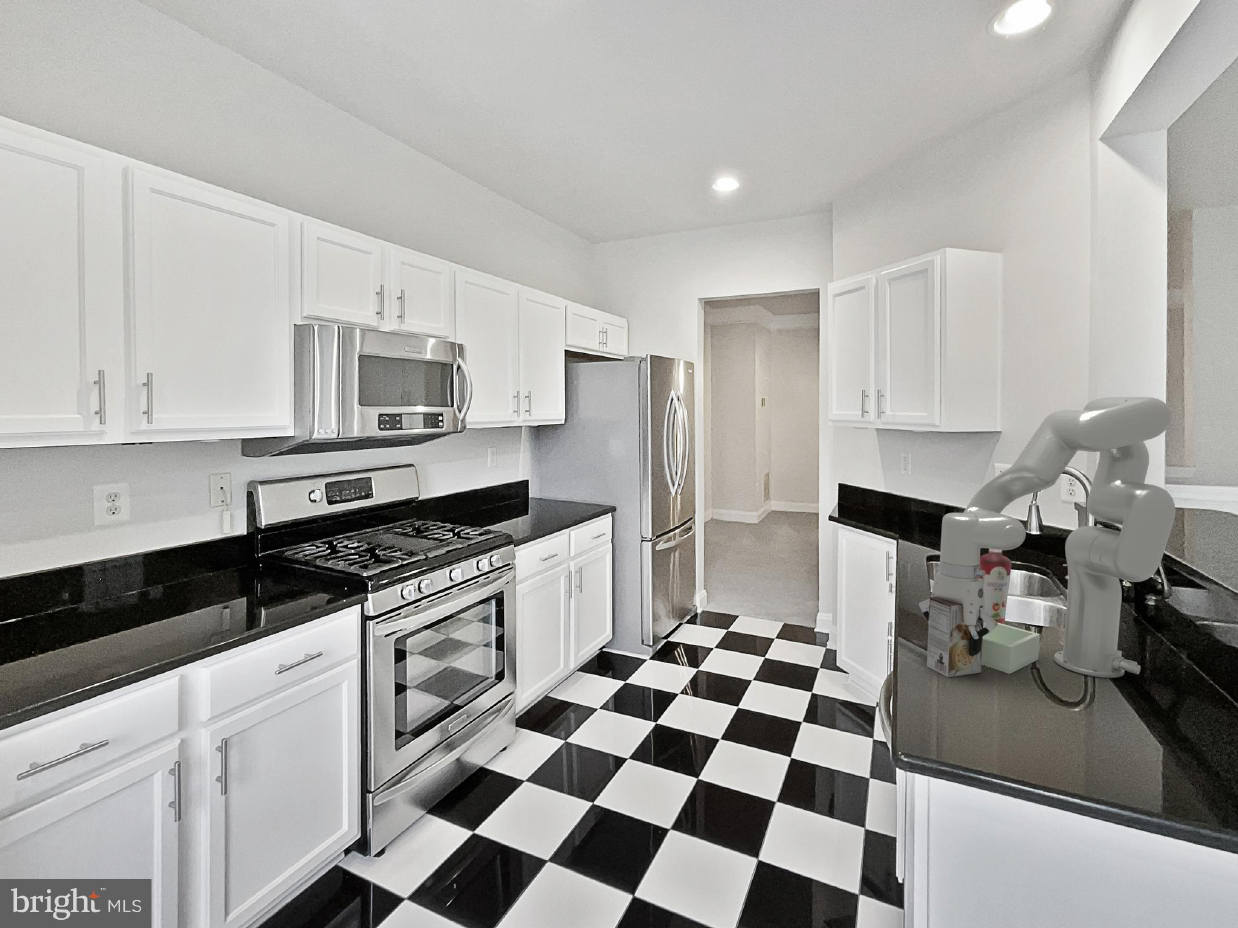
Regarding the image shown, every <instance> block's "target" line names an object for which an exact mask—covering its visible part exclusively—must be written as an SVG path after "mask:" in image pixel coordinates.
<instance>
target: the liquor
mask: <svg viewBox="0 0 1238 928" xmlns="http://www.w3.org/2000/svg"><path fill="white" fill-rule="evenodd" d="M1012 563H1013V561H1012V560H1010V558H1008V557H1007V556H1005V555H1003V550H996V549H989V548H988V553H985V554H983V555H980V561H979V565H980V569H982V570H985V576H979V577H978V578H980V579H982V580H983V584H984V590H985V603H986V612H987V613H988V614H989V615H990V616H991V617H992V618H993V619H994V620H995V621H996V622H997V623H1001V624H1005V623H1006V613H1007V612H1006V611H1007V604H1008V596H1009V595H1008V594H1009V590H1010V589H1009V587H1010V580H1011V571H1012ZM1005 625H1006V624H1005Z"/></svg>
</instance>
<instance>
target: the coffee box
mask: <svg viewBox="0 0 1238 928" xmlns="http://www.w3.org/2000/svg"><path fill="white" fill-rule="evenodd" d="M929 598H930V605H929V624H928V630H927V631H928V632H927V634H928V635H927V653H926V654H927V657H926V667H927V668H929V669H931V670H933V671H935V672H937V673H939V674H941V675H943V676H944V677H947V678H954V677H959V676H967V675H972V674H978V673H979V674H980V673H982V665H981V662H982V642H983V637H982V641H981V651H980V652H979V654H977V655H975V656H970V655H969V639H970V638H971V637H972V634H971V632H970V630H969V628H968V626H966V625H965V624H964V614H963V604H960V603H956V602H952V601H949V600H945V599H941V598H937V597H931V596H930V597H929ZM978 620H982V618H981V617H980V616H979V617H978ZM980 622H981V621H979V623H980ZM980 625H981V627H982V628H983V623H980Z"/></svg>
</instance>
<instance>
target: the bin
mask: <svg viewBox="0 0 1238 928" xmlns="http://www.w3.org/2000/svg"><path fill="white" fill-rule="evenodd" d="M985 626H986V622H985V621H984V622H983V628H984V627H985ZM1040 640H1041V634H1040V633H1037V632H1033V631H1029V630H1027V629H1022V628H1020V627H1019V628H1018V627H1016V626H1012V625H1008V624H1001V623H998V625H997V626H996V627H995V628H994V629H993V630H992V631H991V632H989V633H988V634H986V635H984V636H983V642H982V662H981V666H984V665H985V666H984V667H986V668H990V667H991V668H990V669H993V668H994V670H996V671H999V672H1002V671H1003V673H1006V674H1008V675H1010V673H1011V674H1012V673H1015V672H1016V671H1018V670H1020V669H1022V668H1024V667H1027V666H1028V665H1030V664H1032V663H1034V662H1036V661H1038V660H1039V656H1040V643H1041V642H1040Z"/></svg>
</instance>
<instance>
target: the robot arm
mask: <svg viewBox="0 0 1238 928" xmlns="http://www.w3.org/2000/svg"><path fill="white" fill-rule="evenodd" d="M1172 415H1173V414H1172V411H1171V408H1170V407H1169V405H1168V404H1166V402H1164V401H1163V400H1161V399H1159V398H1156V397H1150V396H1136V397H1135V396H1133V397H1132V396H1129V397H1128V396H1125V397H1124V396H1109V397H1102V398H1101V397H1100V398H1095V399H1094V400H1093V399H1092V400H1090V401H1088V403H1086V405H1085V406H1084V407H1083V410H1081V409H1077V410H1076V409H1068V410H1067V409H1065V410H1057V411H1054V412H1052V413H1050V414H1049V415H1047V416H1046V417H1045V419H1043V420H1042V423H1041V424H1040V425H1039V427H1038V428H1037V429H1036V431H1035V432H1034V434H1033V435H1032V436H1031V438H1030V440H1029V441H1028V443H1027V444H1026V445H1025V447H1024V448H1023V450H1022V451H1021V452H1020V454H1019V456H1018V457H1017V459H1016V460H1015V461H1014V463H1013V464H1012V465H1011V466H1010V467H1008V468H1007V469H1004V470H1003V471H1002V472H1001V473H999V474H998V475H997V476H995V477H994V478H992V479H991V480H989V481H988V482H987V483H986V484H985V485H983V486H982V487H981V488H980V489H979V490H977V491H976V493H975V494H974V496H973V498H971V500H970V501H969V503H968V505H967V506H966V507H965V509H964V511H963V512H949V513H947V514H944V515H943V517H942V521H941V522H942V523H941V536H940V553H939V555H940V556H939V557H940V558H939V571H938V572H936V573H935V577H934V580H933V585H932V589H931V595H930V597H937V598H941V599H945V600H949V601H952V602H956V603H960V604H963V614H964V624H965V625H966V626H968V628H969V630H970V632H971V634H972V637H971V638H970V639H969V655H970V656H975V655H977V654H979V652H980V651H981V641H982V637H983V636H984V635H986V634H988V633H989V632H991V631H992V630H993V629H994V628H995V627H996V626H997V625H998V623H997V622H996V621H995V620H994V619H993V618H992V617H991V616H990V615H989V614H988V613H987V612H986V603H985V590H984V584H983V580H982V579H980V578H978V577H979V576H985V570H982V569H980V565H979V561H980V557H981V549H988V550H989V549H996V550H1002V551H1009V550H1013V549H1016V548H1018V547H1020V546H1021V545H1022V544H1023V542H1025V539H1026V536H1027V535H1026V534H1027V533H1026V528H1025V526H1024V524H1023V523H1022V522H1021V521H1020V520H1019V519H1017V518H1015V517H1013V516H1010V515H1007V514H1004V513H1002V512H1003V511H1004V510H1005V509H1006V508H1007V506H1009V505H1010V504H1011V503H1013V502H1015V501H1016V500H1017V499H1019V498H1022V497H1024V496H1025V497H1026V495H1030V494H1034V493H1037V492H1041V491H1044V490H1048V489H1049V488H1051V487H1053V486H1054V485H1055V484H1056V482H1057V481H1058V480H1059V478H1060V477H1061V475H1062V474H1063V472H1064V470H1065V469H1066V468H1067V467H1068V465H1069V463H1070V462H1071V461H1072V459H1073V458H1074V457H1075V455H1076V454H1077V452H1090V453H1097V452H1099V458H1098V462H1097V465H1096V466H1097V468H1096V471H1095V473H1094V477H1093V480H1092V484H1091V486H1090V490H1089V494H1088V497H1087V500H1086V509H1087V512H1088V513H1089V515H1091V516H1092V517H1094V518H1095V519H1097V520H1099V521H1102V522H1105V523H1110V524H1114V525H1117V526H1118V525H1119V526H1121V530H1120V531H1119V530H1115V529H1111V528H1108V527H1107V528H1106V527H1101V526H1097V525H1096V526H1094V525H1085V526H1081V527H1078V528H1076V529H1074V530H1073V531H1072V532H1070V534H1068V537H1067V538H1066V540H1065V545H1064V546H1065V547H1064V548H1065V549H1064V550H1065V551H1064V552H1065V558H1066V564H1067V592H1066V593H1067V594H1066V595H1067V597H1066V607H1065V608H1066V609H1065V621H1064V622H1065V623H1064V633H1063V635H1064V636H1063V647H1062V648H1063V650H1059V651H1057V652H1055V653H1054V655H1053V660H1054V662H1055V663H1056V664H1058V665H1059V666H1061V667H1063V668H1064V669H1067V670H1069V671H1072V672H1074V673H1077V674H1082V675H1085V676H1089V677H1090V676H1091V677H1096V678H1106V679H1107V678H1109V679H1112V678H1113V679H1114V678H1120V677H1123V676H1124V675H1125V673H1126V672H1125V671H1127V672H1128V673H1132V674H1135V675H1139V674H1140V672H1141V665H1139V664H1138V662H1137V661H1133V660H1130V659H1129V660H1128V659H1125V657H1123V656H1122V654H1123V651H1122V650H1118V642H1119V630H1120V629H1119V628H1120V619H1121V618H1120V617H1121V606H1122V597H1123V596H1122V595H1123V593H1122V585H1121V582H1120V580H1123V581H1125V582H1132V583H1134V582H1135V583H1137V582H1138V583H1139V582H1144V581H1146V580H1148V579H1150V578H1151V577H1152V576H1154V574H1155V573H1156V572H1157V570H1158V568H1159V567H1160V565H1161V563H1162V559H1163V556H1164V553H1165V550H1166V547H1167V544H1168V542H1169V541H1168V540H1169V538H1170V534H1171V531H1172V529H1173V525H1174V522H1175V517H1176V503H1175V501H1174V499H1173V497H1172V495H1171V494H1170V493H1169V492H1168V491H1167V490H1166V489H1165V488H1162V487H1160V486H1157V485H1155V484H1150V483H1145V481H1146V477H1147V474H1148V469H1149V466H1150V455H1149V451H1148V447H1147V445H1146V443H1145V442H1147V441H1148V440H1152V439H1155V438H1157V437H1159V436H1161V435H1162V434H1163V433H1164V432H1165V431H1166V430H1168V428H1169V426H1170V424H1171V422H1172V418H1173V417H1172ZM930 597H929V598H928V599H925V600H923V601H920V602H918V606H919V608H920V610H921V612H922V613H923V616H924V618H925V619H926V620H927V624H928V625H929V605H930ZM979 616H980V617H981V618H982V620H978V617H979ZM979 621H981V622H980V623H983V622H984V621H985V622H986V626H985V627H984V628H982V627H981V625H980V623H979Z"/></svg>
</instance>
